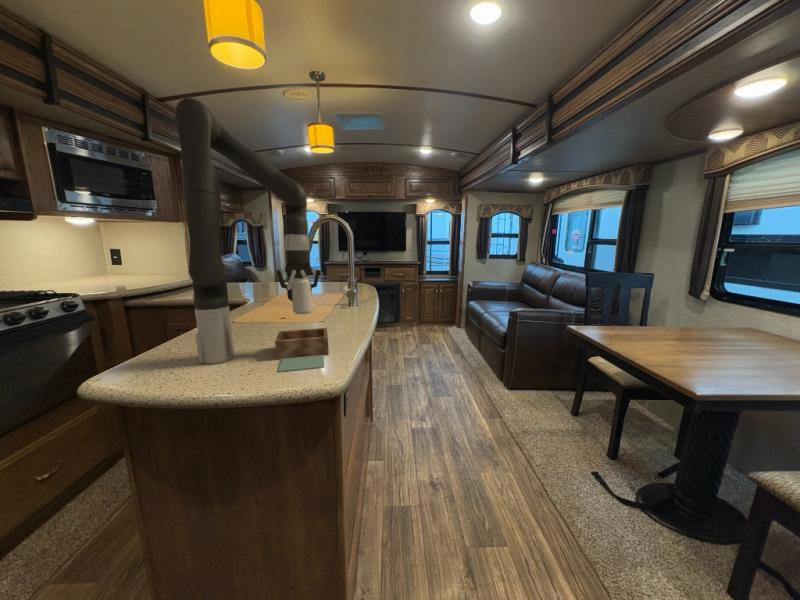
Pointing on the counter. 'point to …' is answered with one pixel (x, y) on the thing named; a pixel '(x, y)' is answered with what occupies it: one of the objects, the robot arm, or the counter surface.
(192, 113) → the robot arm
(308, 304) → the beverage can
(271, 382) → the counter surface
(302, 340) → the walnut holder
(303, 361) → the rubber mat
